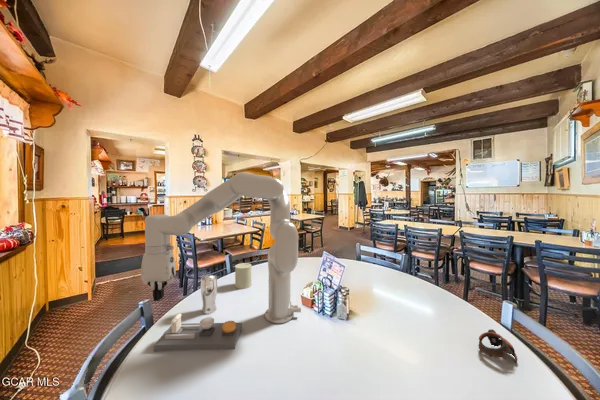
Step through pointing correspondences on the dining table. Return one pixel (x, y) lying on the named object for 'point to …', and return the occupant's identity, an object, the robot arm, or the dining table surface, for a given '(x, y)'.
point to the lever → (176, 324)
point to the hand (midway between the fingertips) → (158, 299)
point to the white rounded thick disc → (206, 323)
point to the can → (243, 275)
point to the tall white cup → (209, 293)
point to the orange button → (229, 326)
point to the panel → (198, 338)
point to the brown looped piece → (497, 342)
